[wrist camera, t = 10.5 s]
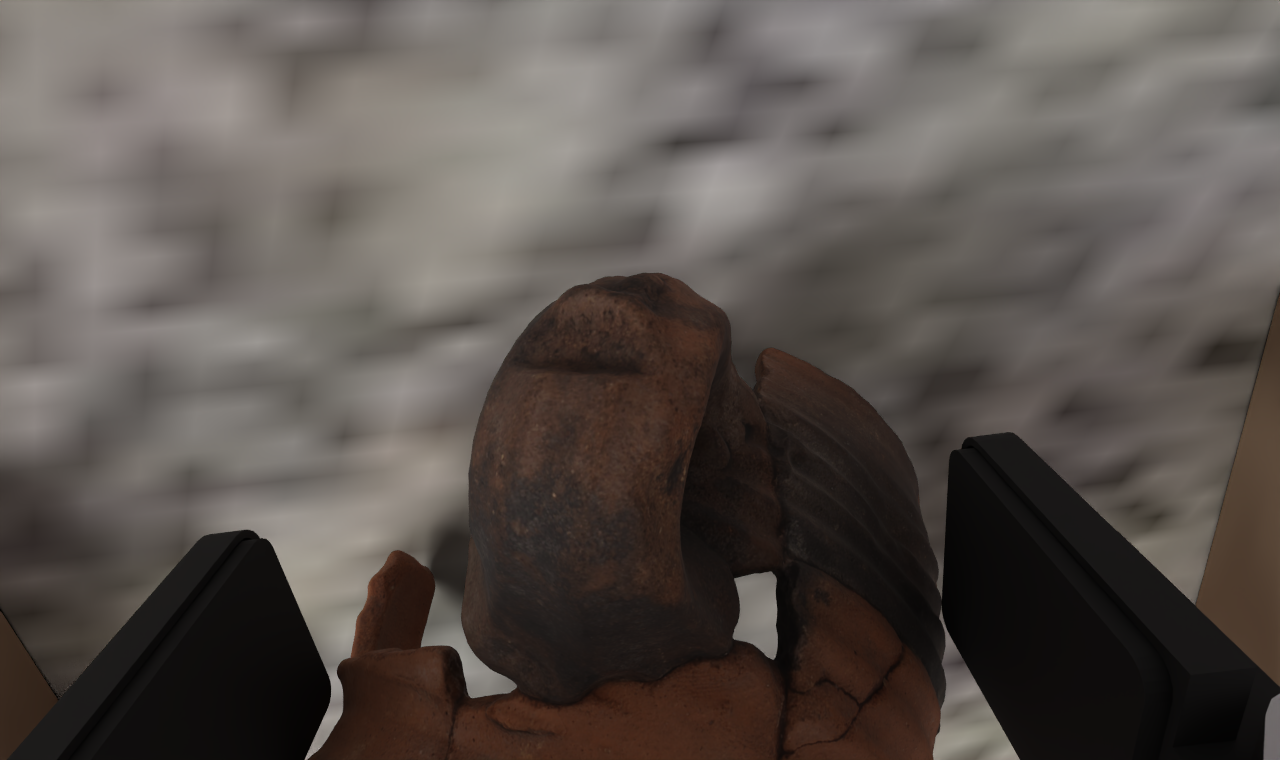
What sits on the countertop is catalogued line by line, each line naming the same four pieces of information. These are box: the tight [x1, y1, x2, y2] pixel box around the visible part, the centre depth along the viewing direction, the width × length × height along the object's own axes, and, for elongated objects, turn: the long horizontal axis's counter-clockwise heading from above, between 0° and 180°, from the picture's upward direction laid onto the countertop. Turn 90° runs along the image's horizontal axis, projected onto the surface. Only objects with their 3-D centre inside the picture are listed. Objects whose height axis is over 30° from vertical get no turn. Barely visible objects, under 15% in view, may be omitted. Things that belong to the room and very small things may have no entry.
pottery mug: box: [308, 273, 946, 760], centre depth 11 cm, size 12×9×8 cm
